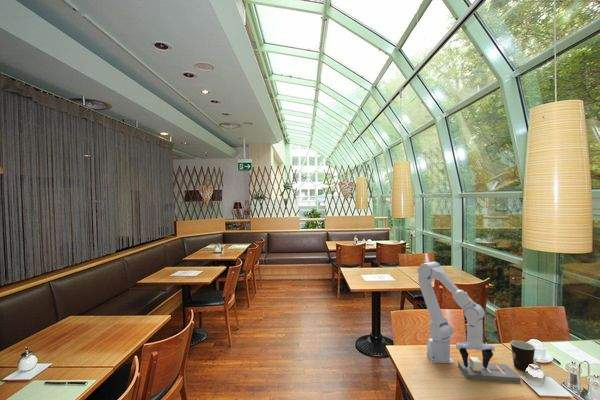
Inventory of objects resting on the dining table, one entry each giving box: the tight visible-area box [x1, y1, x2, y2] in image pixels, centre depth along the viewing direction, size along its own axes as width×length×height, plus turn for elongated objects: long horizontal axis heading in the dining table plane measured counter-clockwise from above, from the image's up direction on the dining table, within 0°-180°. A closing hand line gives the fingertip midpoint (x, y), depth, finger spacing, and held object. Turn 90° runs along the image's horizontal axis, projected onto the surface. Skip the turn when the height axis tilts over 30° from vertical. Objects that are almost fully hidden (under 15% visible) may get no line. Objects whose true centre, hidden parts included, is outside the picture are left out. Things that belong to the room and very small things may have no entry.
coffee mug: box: [510, 340, 536, 373], centre depth 134 cm, size 12×9×10 cm
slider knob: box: [468, 356, 482, 371], centre depth 128 cm, size 3×4×4 cm
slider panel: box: [457, 361, 522, 384], centre depth 128 cm, size 20×10×2 cm, turn 83°
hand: (475, 366), depth 128 cm, fingers open, 7 cm apart
